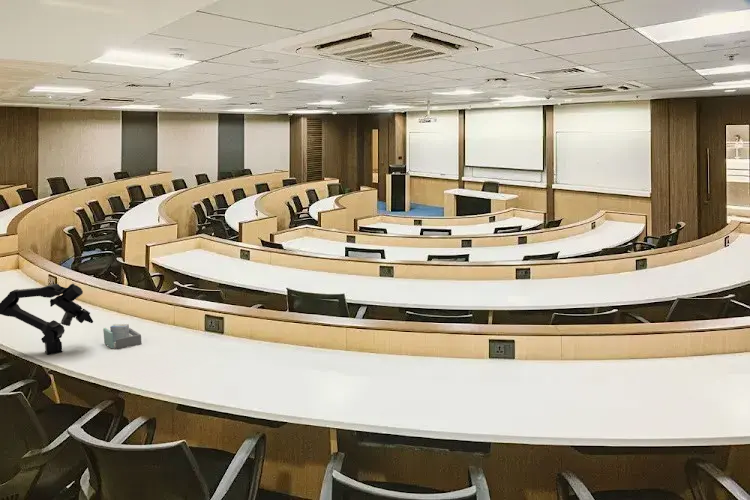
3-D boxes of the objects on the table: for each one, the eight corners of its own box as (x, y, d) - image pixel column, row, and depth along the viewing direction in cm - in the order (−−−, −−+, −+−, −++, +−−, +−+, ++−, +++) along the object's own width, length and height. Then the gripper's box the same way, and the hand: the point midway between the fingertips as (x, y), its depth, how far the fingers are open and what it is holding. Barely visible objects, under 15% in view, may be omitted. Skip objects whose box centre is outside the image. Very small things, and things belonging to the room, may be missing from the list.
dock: (117, 349, 280) (116, 339, 280) (107, 341, 292) (106, 332, 291) (141, 344, 288) (140, 334, 288) (130, 336, 300) (130, 327, 299)
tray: (112, 348, 280) (110, 333, 279) (103, 342, 290) (102, 327, 288) (137, 343, 289) (136, 328, 287) (128, 337, 298) (127, 323, 297)
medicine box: (130, 339, 291) (129, 323, 290) (126, 342, 287) (125, 326, 286) (114, 339, 291) (113, 324, 290) (111, 342, 287) (110, 326, 285)
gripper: (50, 314, 278) (75, 330, 287) (59, 322, 264) (86, 339, 273) (66, 296, 282) (91, 313, 291) (76, 303, 268) (102, 321, 277)
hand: (92, 322), depth 283 cm, fingers closed
